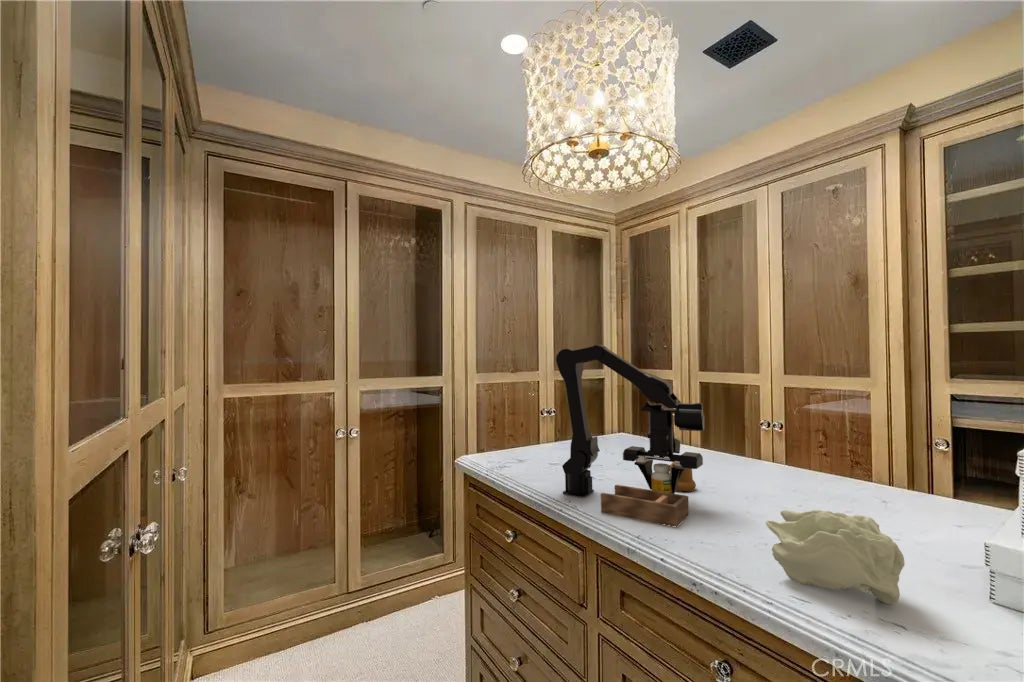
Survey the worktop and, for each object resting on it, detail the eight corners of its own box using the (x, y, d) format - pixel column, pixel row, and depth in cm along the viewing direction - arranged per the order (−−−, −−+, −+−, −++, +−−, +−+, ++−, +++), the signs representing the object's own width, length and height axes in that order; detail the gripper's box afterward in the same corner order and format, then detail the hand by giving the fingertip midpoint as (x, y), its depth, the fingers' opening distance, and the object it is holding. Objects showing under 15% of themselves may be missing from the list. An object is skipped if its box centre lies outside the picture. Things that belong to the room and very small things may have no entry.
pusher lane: (601, 512, 115) (600, 493, 115) (616, 502, 122) (616, 484, 122) (676, 527, 104) (675, 506, 104) (688, 515, 112) (688, 495, 112)
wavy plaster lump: (797, 620, 80) (745, 529, 84) (842, 582, 85) (791, 499, 90) (903, 630, 64) (832, 518, 69) (949, 583, 70) (881, 482, 74)
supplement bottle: (661, 498, 124) (660, 461, 125) (678, 503, 120) (677, 465, 120) (647, 502, 121) (646, 464, 122) (664, 508, 117) (663, 468, 117)
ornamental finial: (692, 485, 136) (698, 493, 128) (665, 484, 137) (669, 492, 130) (692, 457, 136) (697, 463, 129) (664, 456, 137) (668, 462, 130)
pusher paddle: (653, 515, 109) (653, 502, 109) (663, 507, 114) (662, 495, 114) (658, 516, 108) (658, 503, 108) (668, 508, 113) (667, 496, 113)
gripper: (707, 427, 122) (709, 488, 122) (637, 422, 133) (639, 478, 133) (695, 434, 113) (697, 500, 113) (621, 428, 124) (622, 488, 124)
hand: (662, 491), depth 121 cm, fingers closed on supplement bottle, 5 cm apart
